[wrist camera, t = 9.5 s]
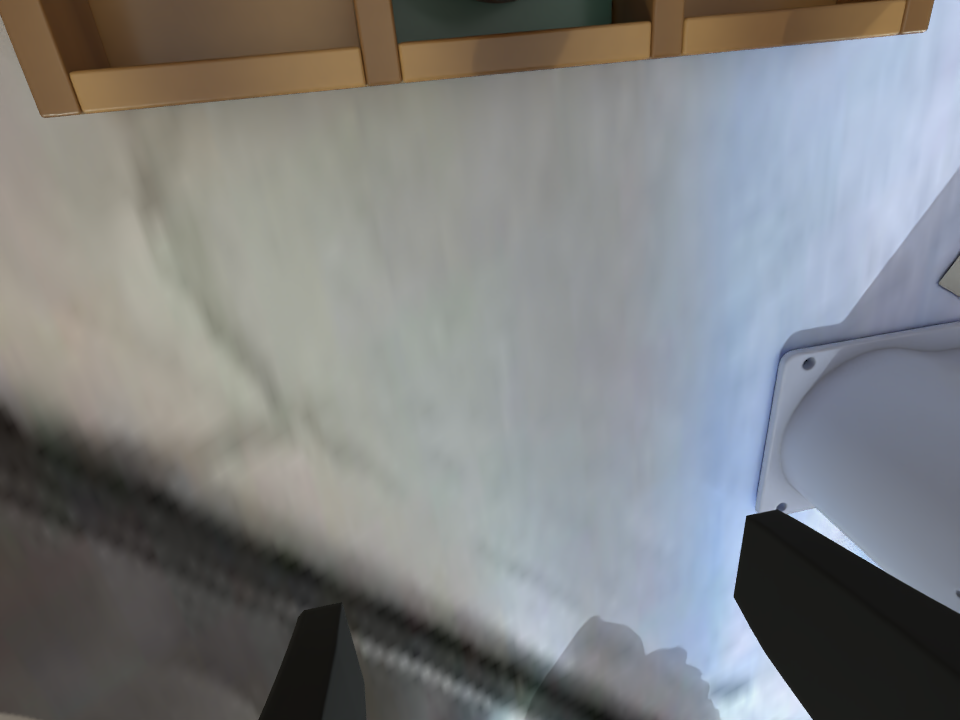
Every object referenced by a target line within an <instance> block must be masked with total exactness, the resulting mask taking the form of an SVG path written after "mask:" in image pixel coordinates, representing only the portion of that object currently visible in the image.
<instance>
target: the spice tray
mask: <svg viewBox="0 0 960 720" xmlns="http://www.w3.org/2000/svg"><path fill="white" fill-rule="evenodd" d="M933 4H934V0H516V1H513V2H507V3H486V2H480V1H477V0H0V15H1V17H2V20H3V22H4V25H5V27H6V30H7V32H8V35H9V37H10V40H11V43H12V45H13V48H14V50H15V53H16V55H17V58H18V60H19V63H20V65H21V68H22V70H23V73H24V75H25V78H26V80H27V83H28V85H29V88H30V90H31V93H32V95H33V98H34V100H35V103H36V105H37V108H38V110H39V113H40V115H41V116H42V117H44V118H49V117H60V116H70V115H80V114H90V113H101V112H111V111H121V110H132V109H142V108H152V107H163V106H173V105H183V104H193V103H204V102H214V101H224V100H235V99H245V98H255V97H266V96H276V95H286V94H296V93H307V92H317V91H327V90H338V89H348V88H358V87H367V86H379V85H389V84H399V83H410V82H420V81H430V80H441V79H451V78H461V77H472V76H482V75H492V74H503V73H513V72H523V71H533V70H544V69H554V68H564V67H575V66H585V65H595V64H606V63H616V62H626V61H636V60H646V59H657V58H667V57H678V56H688V55H698V54H709V53H719V52H729V51H739V50H750V49H760V48H770V47H781V46H791V45H801V44H812V43H822V42H832V41H842V40H853V39H863V38H873V37H884V36H894V35H904V34H915V33H923V32H925V31H927V29H928V25H929V21H930V17H931V12H932V8H933Z"/></svg>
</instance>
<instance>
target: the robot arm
mask: <svg viewBox="0 0 960 720" xmlns="http://www.w3.org/2000/svg"><path fill="white" fill-rule="evenodd" d="M806 359H808V360H807V362H806V363H805V364H803V363H804V361H805V360H806ZM813 508H816V509H817V510H819V511H820V512H821V513H822V514H823V515H824V516H825V517H826V518H827V519H828V520H829V521H830V522H832V523H833V524H834V525H835V526H836V527H837V528H838V529H839V530H840V531H841V532H842V533H843V534H845V535H846V536H847V537H848V538H849V539H850V540H851V541H852V542H853V543H854V544H855V545H856V546H858V547H859V548H860V549H861V550H862V551H863V552H864V553H865V554H866V555H867V556H868V557H869V558H871V559H872V560H873V561H874V562H875V563H876V564H877V565H878V566H879V567H880V568H881V569H882V570H881V569H880V568H878V567H876V566H874V565H873V564H871V563H869V562H867V561H866V560H864V559H862V558H861V557H859V556H857V555H856V554H854V553H852V552H851V551H849V550H847V549H845V548H844V547H842V546H840V545H839V544H837V543H835V542H834V541H832V540H830V539H829V538H827V537H825V536H823V535H822V534H820V533H818V532H817V531H815V530H813V529H812V528H810V527H808V526H806V525H805V524H803V523H801V522H799V521H798V520H796V519H794V518H792V517H791V516H789V515H787V514H790V513H794V512H799V511H804V510H808V509H813ZM755 510H756V512H757V514H753V515H748V516H746V522H745V528H744V534H743V540H742V547H741V553H740V559H739V565H738V572H737V578H736V584H735V590H734V598H735V600H736V602H737V604H738V606H739V607H740V609H741V611H742V613H743V615H744V617H745V619H746V620H747V622H748V624H749V626H750V628H751V629H752V631H753V633H754V635H755V636H756V638H757V640H758V641H759V643H760V645H761V647H762V648H763V650H764V652H765V653H766V655H767V656H768V658H769V659H770V660H771V662H772V663H773V665H774V666H775V668H776V669H777V670H778V672H779V673H780V675H781V676H782V677H783V679H784V680H785V682H786V683H787V684H788V686H789V687H790V689H791V690H792V691H793V693H794V694H795V696H796V697H797V698H798V700H799V701H800V703H801V704H802V705H803V707H804V708H805V709H806V711H807V712H808V714H809V715H810V716H811V718H812V719H813V720H960V321H957V322H951V323H946V324H940V325H934V326H928V327H923V328H917V329H911V330H905V331H900V332H894V333H888V334H883V335H877V336H871V337H865V338H860V339H854V340H848V341H842V342H837V343H831V344H825V345H819V346H814V347H808V348H802V349H796V350H792V351H789V352H787V353H786V354H785V355H784V356H783V357H782V358H781V360H780V363H779V367H778V373H777V379H776V385H775V391H774V397H773V403H772V409H771V415H770V421H769V427H768V433H767V439H766V445H765V451H764V457H763V463H762V469H761V475H760V481H759V487H758V493H757V499H756V505H755ZM883 570H884V571H883ZM258 720H366V705H365V687H364V680H363V676H362V673H361V669H360V666H359V662H358V658H357V655H356V651H355V648H354V644H353V640H352V637H351V633H350V630H349V626H348V622H347V619H346V615H345V612H344V608H343V604H342V602H341V603H336V604H332V605H327V606H322V607H318V608H313V609H308V610H304V611H303V612H302V613H301V615H300V616H299V617H298V620H297V623H296V626H295V629H294V632H293V635H292V638H291V640H290V643H289V646H288V649H287V651H286V654H285V657H284V659H283V662H282V664H281V667H280V669H279V672H278V674H277V677H276V679H275V682H274V684H273V687H272V689H271V692H270V694H269V696H268V699H267V701H266V704H265V706H264V708H263V710H262V713H261V715H260V717H259V719H258Z"/></svg>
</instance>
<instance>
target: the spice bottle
mask: <svg viewBox="0 0 960 720" xmlns="http://www.w3.org/2000/svg"><path fill="white" fill-rule="evenodd" d="M477 1H480V2H486V3H507V2H513V1H516V0H477Z"/></svg>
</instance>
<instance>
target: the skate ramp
mask: <svg viewBox="0 0 960 720" xmlns="http://www.w3.org/2000/svg"><path fill="white" fill-rule="evenodd" d="M938 284H939V285H941V286H943V287H944V288H946V289H948V290H949V291H951V292H952V293H954V294H956V295H957V296H959V297H960V256H959V257H958V259H957V260H956V261H955V263H954V264H953V265H952V266H951V268H950V269H949V270H948V272H947V273H946V274H945V275H944V277H943V278H942V279H941V281H940V282H939V283H938Z"/></svg>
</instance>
